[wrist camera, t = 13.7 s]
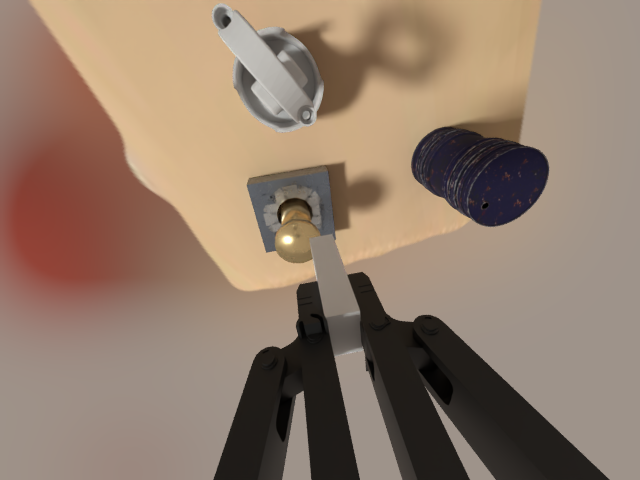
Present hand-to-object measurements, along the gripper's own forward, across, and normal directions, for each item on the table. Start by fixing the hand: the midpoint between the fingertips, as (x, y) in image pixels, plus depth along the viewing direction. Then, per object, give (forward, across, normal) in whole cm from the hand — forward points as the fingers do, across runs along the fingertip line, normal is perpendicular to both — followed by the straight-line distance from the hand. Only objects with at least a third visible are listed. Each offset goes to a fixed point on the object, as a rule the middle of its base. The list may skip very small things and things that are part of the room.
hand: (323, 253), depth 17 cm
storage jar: (+27, +23, -4) cm, 35 cm away
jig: (+26, -2, -8) cm, 28 cm away
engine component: (+27, -1, +10) cm, 28 cm away
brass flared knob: (+26, -2, -8) cm, 28 cm away
